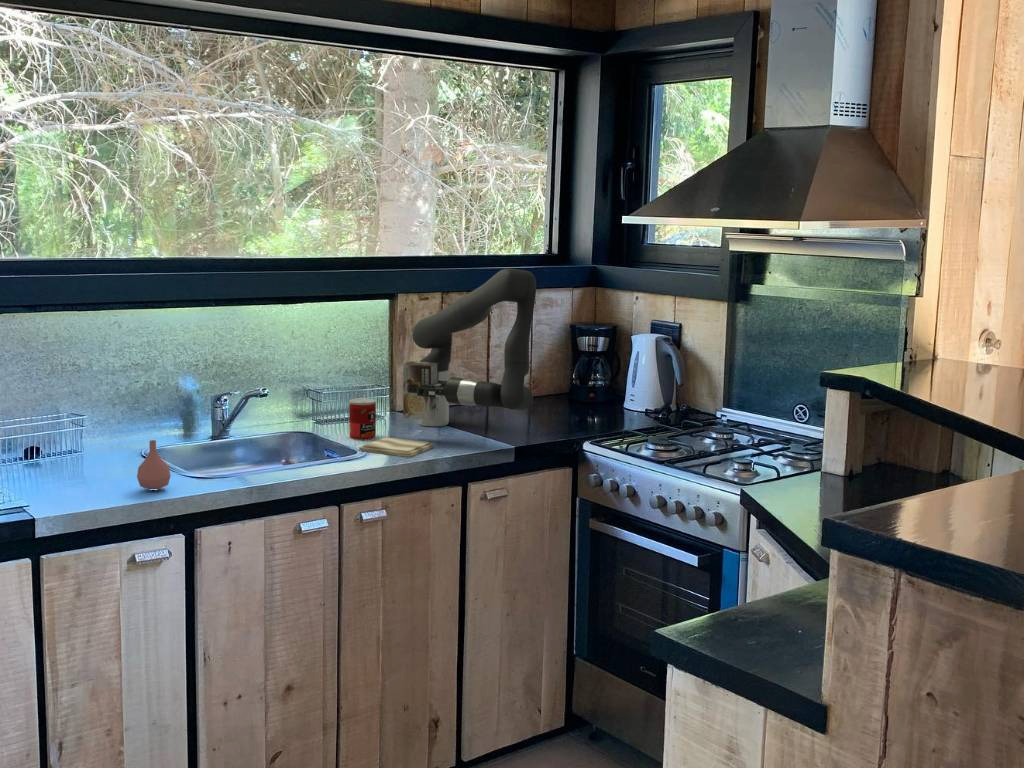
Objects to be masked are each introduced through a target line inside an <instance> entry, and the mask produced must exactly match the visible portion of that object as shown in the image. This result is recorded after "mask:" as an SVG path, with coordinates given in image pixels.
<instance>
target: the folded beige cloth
mask: <svg viewBox="0 0 1024 768" xmlns="http://www.w3.org/2000/svg"><path fill="white" fill-rule="evenodd" d="M434 446H435V444H434V443H431V442H429V441H419V440H412V439H405V438H403V439H402V438H395V437H389V436H387V437H386V436H385V437H382V438H380V439H378V440H374V441H372V442H369V443H365V444H364V445H362V446H359V447H358V451H359V452H364V451H368V452H367V453H372V454H380V453H381V455H388V454H389V456H395V455H396V456H395V457H397V456H399V457H403V456H404V457H405V458H411V457H413V456H415V455H418V454H421V453H423V452H426V451H428V450H430V448H431V449H433V448H434ZM432 447H433V448H432ZM427 449H428V450H427ZM360 450H361V451H360ZM425 450H426V451H425ZM420 452H421V453H420Z"/></svg>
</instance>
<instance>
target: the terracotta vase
mask: <svg viewBox="0 0 1024 768" xmlns="http://www.w3.org/2000/svg"><path fill="white" fill-rule="evenodd" d="M171 475H172V474H171V471H170V466H169V465H168V464H167V462H165V461H164V460H163V459H162V458H161V455H160V454H159V453H158V450H157V440H154V439H152V440H149V451H148V453H147V455H146V457H145V459H144V460H143V461H142V462H141V463H140V464H139V466H138V468H137V474H136V478H137V481H138V483H139V486H140V487H141V488H143V489H147V490H149V489H159V488H160V489H162V488H164V487H167V486H168V485H169V483H170V479H171ZM160 489H159V490H160Z"/></svg>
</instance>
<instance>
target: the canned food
mask: <svg viewBox="0 0 1024 768" xmlns="http://www.w3.org/2000/svg"><path fill="white" fill-rule="evenodd" d="M348 404H349V405H348V410H349V411H348V415H349V418H348V421H349V423H348V424H349V431H348V432H349V437H350V438H351V439H353V440H358V439H359V441H360V439H362V440H363V441H365V439H367V440H372V439H374V438H375V437H376V435H377V434H376V431H377V429H376V428H377V423H376V422H377V421H376V419H377V418H376V417H377V415H376V414H377V408H376V407H377V406H376V405H377V404H376V400H375V399H374V398H367V397H362V398H361V397H359V398H358V397H357V398H352V399H350V400H349V402H348Z"/></svg>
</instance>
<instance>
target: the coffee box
mask: <svg viewBox="0 0 1024 768" xmlns="http://www.w3.org/2000/svg"><path fill="white" fill-rule="evenodd" d="M437 381H438V363H428V362H420V361H414V360H413V361H408V362H405V363H403V364H402V397H403V399H402V401H403V402H402V403H403V404H402V406H403V407H402V408H403V410H402V411H403V415H402V418H403V419H411V420H419V419H422V420H433V419H435V418H437V417H438V397H436V396H435V397H434V398H432V397H425V396H417V393H409V392H407V386H408V385H419V386H420V385H421V386H426V385H427V384H437ZM431 387H432V386H430V387H429V388H431ZM422 392H424V390H423V389H422Z"/></svg>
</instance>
